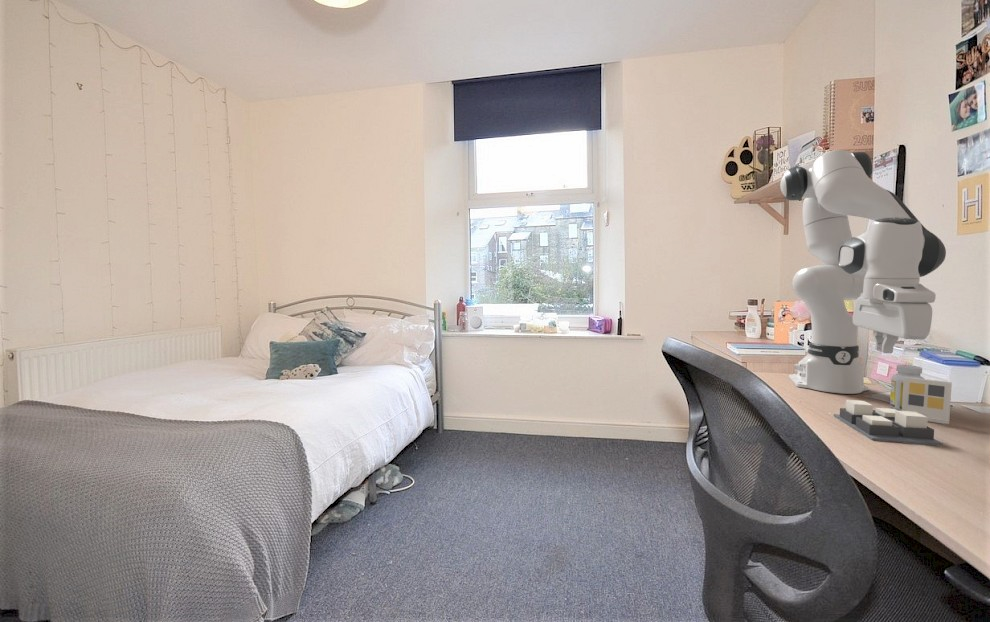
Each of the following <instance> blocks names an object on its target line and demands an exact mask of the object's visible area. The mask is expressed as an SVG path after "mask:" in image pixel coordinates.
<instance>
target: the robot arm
mask: <svg viewBox="0 0 990 622" xmlns="http://www.w3.org/2000/svg"><path fill="white" fill-rule="evenodd" d="M873 163H874V162H873V161H872V158H871V156H870V155H869V154H868V153H866V152H865V151H854V152H849V151H847V150H844V149H832V150H830V151H827V152H825V153H822V154H821V155H820V156H819V157H817V158H816V160H814V161H810V162H807V163H805V164H801V165H796V166H793V167H790V168H788V169H787V170H785V171H784V173H783V174H782V176H781V179H780V184H779V186H780V192H781V193H782V195H783V196H784V198H785V199H786V200H788V201H801V200H802V199H803V202H802V212H801V213H802V214H801V215H802V224H803V226H802V227H803V230H804V237H805V243H806V248H807V251H808V252H809V253H810V254H811V255H813V256H815V257H816V258H817V259H818V260H819V261H820V262H821V264H817V265H813V266H808V267H804V268H801V269H799V270H798V271H796V273H795V274H794V276H793V278H792V280H791V281H792V282H791V286H792V290H793V292H794V294H795V295H796V296H797V297H799V298H800V299H801V300H802V301H803V302H804V304H805V305H806V307H807V309H808V313H809V315H810V319H811V322H810V323H811V339H810V340H811V341H810V342H809V343H808V349H807V354H806V355H805V356H804V357H803V358H802V359H801V360H800V361H798V363H794V366H793V367H794V368H793V369H794V371H795V372H797V373H793V374H789V375H788V378H789V379H790V380H791V381H792V383H793V384H794V385H795V386H796V387H799V388H804V389H809V390H810V389H811V390H815V391H820V392H825V393H834V394H845V395H846V394H847V395H849V394H850V395H852V394H853V395H854V394H855V395H856V394H861V393H862V392H866V391H869V386H867V385H864V384H865V383H864V365H863V363H862V362H861V361H860V360H859V359H858V358H859V356H860V355H859V354H860V348H859V347H860V346H859V345H858V334H859V333H858V332H859V327H860V328H863V329H867V330H871V331H872V336H873V340H874V342H875V347H874V348H875V349H874V350H875V351H876V352H880V353H883V354H893V353H894V348H895V347H894V346H895V345H896V344H897V342H898V341H899V338H901V339H903V340H925V339H926V338H927V337H928V336H929V335H930V331H931V327H932V318H933V307H932V305H931V304H933V303H934V302H935V301H936V293H935V292H934V291H932V290H931V289H929V288H927V287H925V286H924V285H923V284H922V283H920V278H922V277H925V276H927V275H929V274H931V273H933V272H934V271H935V270H937V269H938V268H939V267H940V266H941V265H942V264H943V263H944V261H945V259H946V256H947V255H946V254H947V251H946V247H945V244H944V243H943V242H942V240H941V239H940V238H939V237H938V236H937V235H935V234H934V233H933V232H932V231H930V230H929V229H927V228H926V227H925V226H924V225H923V224H922V223H921V221H920V220H919V219H918V218H917V217H916V216H915V215H914V213H913V212H912V211H911V210H910V209H909V207H908V206H906V204H905V203H904V202H903V201H902V200H901V198H899V196H897V194H895V193H894V192H892V191H890V190H888V189H886V188H884V187H882V186H880V185H879V184H877V183H876V182H875V181H873V179H871V178H872V176H873V171H874V164H873ZM849 216H853V217H858V218H863V219H864V218H865V219H868V220H873V222H872V223H871V225H870V226H869V229H867V230H866V231H864V232H863V233H860V234H859V235H857V236H853V234H852V231H851V226H850V221H849ZM845 300H846V301H850V300H853V301H855V303H854V308H853V314H850V312H849V311H848V309H847V307H846V304H845Z"/></svg>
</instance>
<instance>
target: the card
mask: <svg viewBox="0 0 990 622" xmlns="http://www.w3.org/2000/svg"><path fill="white" fill-rule="evenodd" d="M952 386H953V383H952V381H945V380H933V379H925V378H924V379H918V378H909V377H904V379H903V396H902V411H911V412H917V413H919V414H922V415H924V416H926V417H927V422H930V423H938V424H943V425H950V415H951V414H950V413H951V402H952V401H951V400H952Z"/></svg>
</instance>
